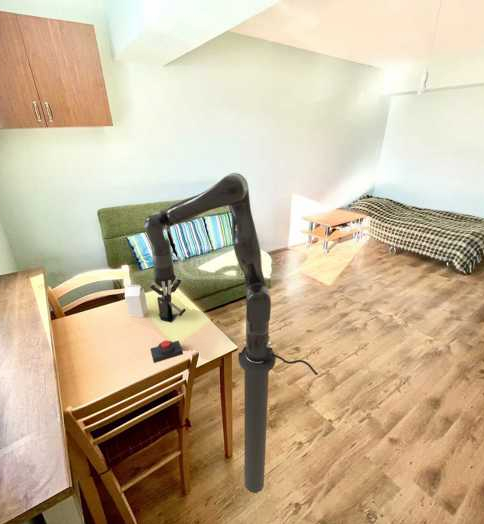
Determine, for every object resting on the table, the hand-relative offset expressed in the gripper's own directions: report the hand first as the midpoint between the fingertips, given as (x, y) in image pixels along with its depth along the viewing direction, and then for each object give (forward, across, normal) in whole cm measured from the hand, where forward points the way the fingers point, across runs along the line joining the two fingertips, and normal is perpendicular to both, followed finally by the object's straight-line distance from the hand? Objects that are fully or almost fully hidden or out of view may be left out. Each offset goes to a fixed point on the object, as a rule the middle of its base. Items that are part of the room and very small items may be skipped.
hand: (168, 301), depth 115 cm
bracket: (+21, +2, +20) cm, 29 cm away
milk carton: (+21, -10, +28) cm, 36 cm away
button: (+17, -4, -6) cm, 19 cm away
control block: (+21, -4, -6) cm, 22 cm away
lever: (+14, +4, +18) cm, 23 cm away
